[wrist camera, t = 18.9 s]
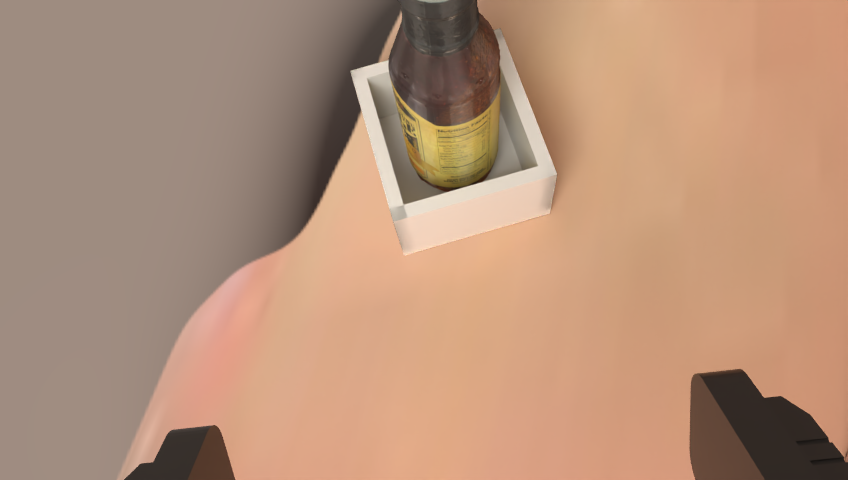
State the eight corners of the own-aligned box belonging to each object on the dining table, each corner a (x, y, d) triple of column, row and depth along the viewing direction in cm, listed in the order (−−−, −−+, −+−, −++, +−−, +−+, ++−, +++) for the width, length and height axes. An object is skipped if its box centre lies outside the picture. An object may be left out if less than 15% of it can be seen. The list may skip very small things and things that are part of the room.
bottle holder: (499, 79, 54) (500, 28, 49) (549, 213, 50) (557, 174, 44) (365, 117, 54) (350, 70, 48) (404, 255, 50) (393, 222, 44)
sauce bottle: (413, 118, 53) (373, -102, 34) (500, 120, 52) (507, -102, 34) (405, 200, 50) (357, 13, 32) (496, 204, 50) (501, 15, 31)
